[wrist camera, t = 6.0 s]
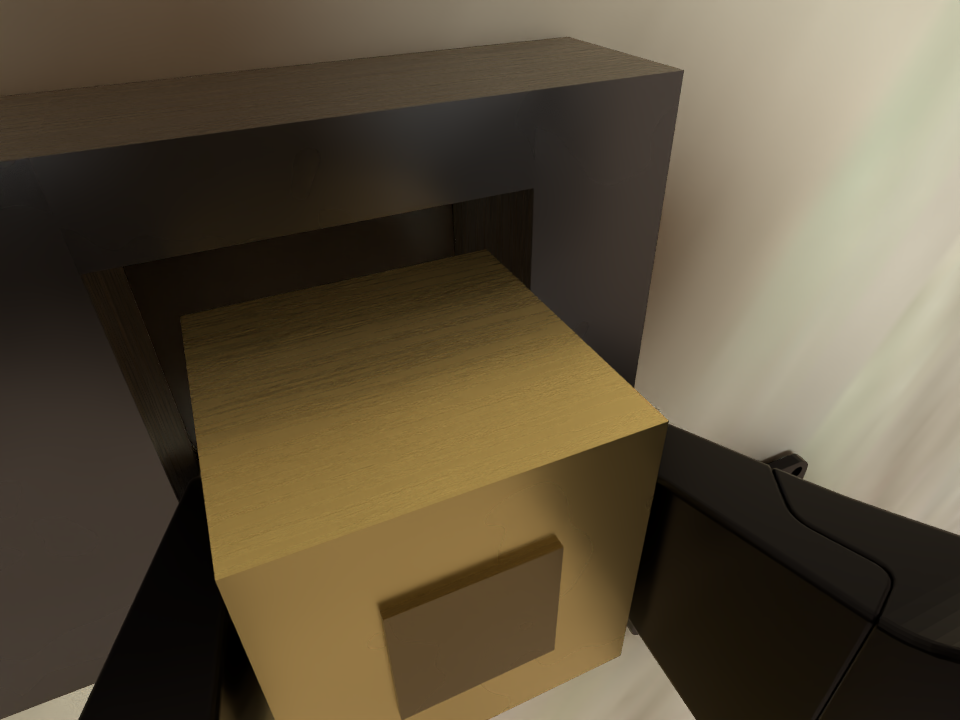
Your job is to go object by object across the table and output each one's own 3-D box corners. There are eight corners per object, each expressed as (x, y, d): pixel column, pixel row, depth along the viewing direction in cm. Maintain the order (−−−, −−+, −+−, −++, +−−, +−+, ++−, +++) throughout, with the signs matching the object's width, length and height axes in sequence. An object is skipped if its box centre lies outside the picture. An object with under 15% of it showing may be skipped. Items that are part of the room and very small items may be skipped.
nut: (485, 249, 9) (675, 428, 6) (489, 457, 11) (625, 662, 8) (180, 316, 8) (216, 590, 4) (255, 535, 10) (313, 814, 7)
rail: (568, 36, 11) (683, 69, 9) (548, 400, 15) (619, 483, 13) (-1439, 247, 5) (-2718, 524, 3) (-495, 731, 10) (-680, 978, 7)
